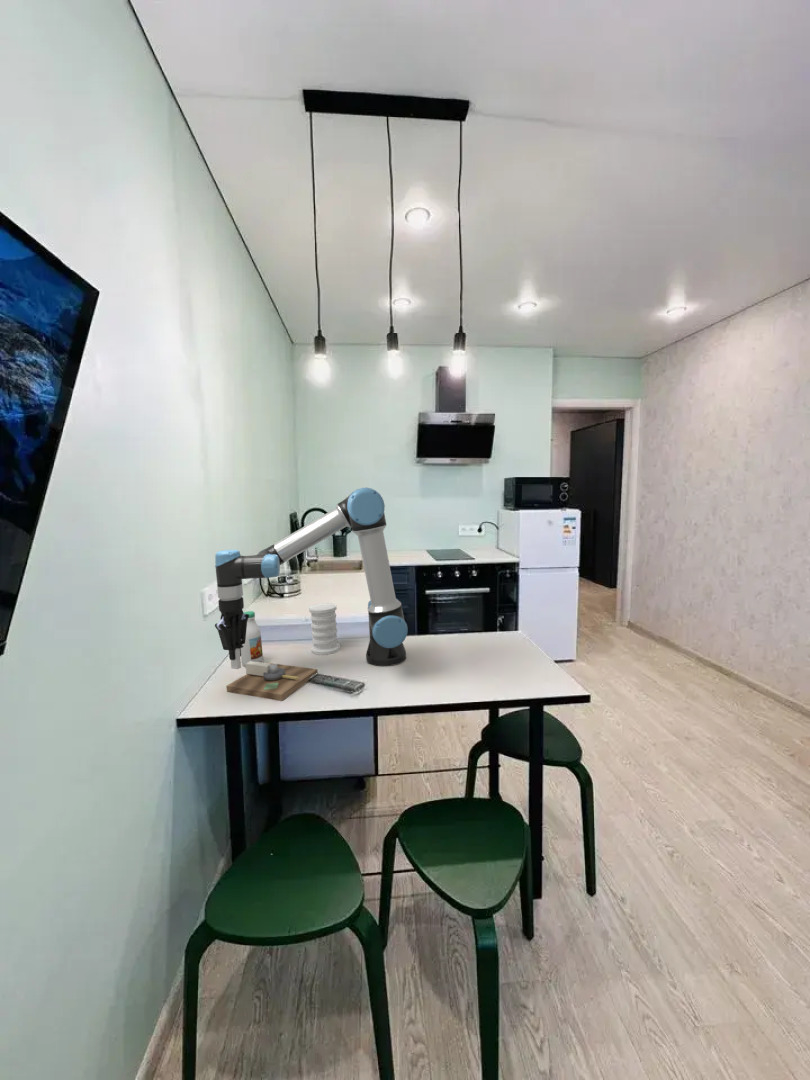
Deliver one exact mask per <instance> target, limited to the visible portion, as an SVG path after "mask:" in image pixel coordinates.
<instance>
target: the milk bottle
mask: <svg viewBox="0 0 810 1080" xmlns="http://www.w3.org/2000/svg"><path fill="white" fill-rule="evenodd" d="M243 613H244V614H249V618H248V621H247V629H246V640H245V644H242V645H243V648H241V657H240V660H241V666H243V667H245V668H246V663H248V662H250V661H253V662H261V663H264V662H263V661H264V656H263V644H262V642H263V641H262V635H261V630H260V627H259V626H258V624H257V621H256V620H255V618H256V612H255V611H253V610H251V611H250V610H249V611H247V610H246V611H243ZM241 640H242V639H241Z"/></svg>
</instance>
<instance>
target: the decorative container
mask: <svg viewBox="0 0 810 1080" xmlns="http://www.w3.org/2000/svg"><path fill="white" fill-rule="evenodd" d="M336 610H337V605H336V604H335V603H329V602H327V603H326V602H325V603H318V604H313V605H311V606H309V609H308V612H309V613H310V614H311V615H310V621H311V624H310V626H311V629H312V630H311V635H312V641H311V642H312V644H313V645H312V646H311V648H310V651H311V653H312V654H313V655H314V656H315V655H316V656H327V655H332V654H335V653H338V652H339V651H340V650H341V644H340V643H338V639H339V638H338V635H337V634H338V628H337V620H336V618H337V614H336Z"/></svg>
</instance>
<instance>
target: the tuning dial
mask: <svg viewBox="0 0 810 1080" xmlns="http://www.w3.org/2000/svg"><path fill="white" fill-rule="evenodd" d="M269 663H270V662H262V663H261V662H253V661H250V662H248V663H246V667H245V672H246V673H245V675H246V674H252V675H259V676H264V679H265V680H278V679H280V678H290V679H299V678H298V677H296V676H289V675H285V670H284V669H283V668H278V667H277V664H278V663H273V664H272V665H271V664H269Z"/></svg>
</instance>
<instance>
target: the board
mask: <svg viewBox="0 0 810 1080" xmlns="http://www.w3.org/2000/svg"><path fill="white" fill-rule="evenodd" d="M268 663H269V664H271V665H272V664H274V663H272V662H268ZM276 664H277V667H278V668H283V669H284V670H285V675H289V676H296V677H298V678H299V679H290V678H280V679H278V680H265V679H264V676H259V675H252V674H246V673H245V675H242V676H241V677H239V678H237V679H236V680H234V681H232V682H231V683H228V684H227V685H226V692H227V693H234V694H239V695H245V696H252V697H258V698H262V699H263V698H264V699H268V700H275V701H284V700H286V699H287V698H288V697H289V696H291V695H292V694H294V693H295V692H296V691H298V690H299V689H300V688H301V687H303V686H304V685H305V683H306V684H307V683H308V682H309V681H308V680H309V678H310V677H311V676H312V675H314V674H316V673H319V672H318V669H317V668H312V667H303V666H297V665H288V664H280V663H276ZM307 681H308V682H307Z"/></svg>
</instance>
